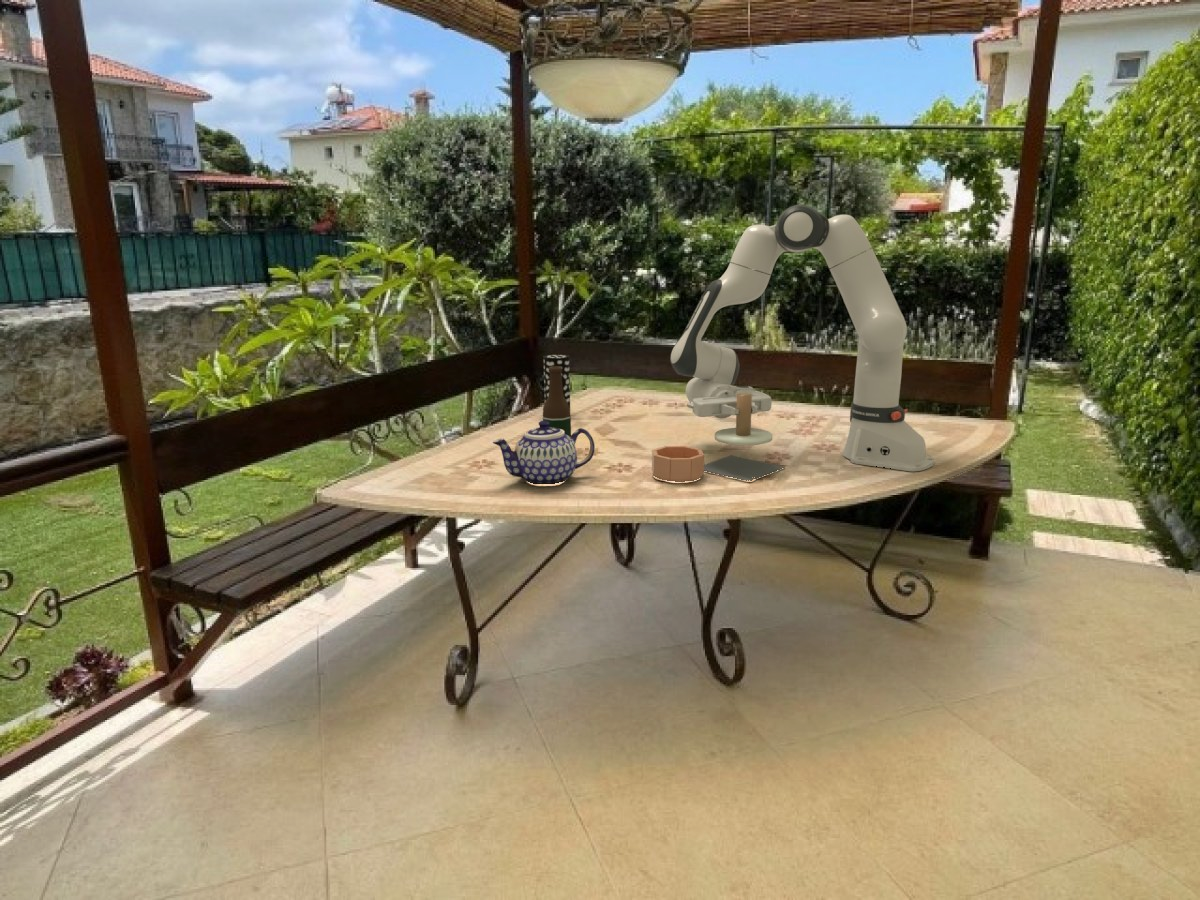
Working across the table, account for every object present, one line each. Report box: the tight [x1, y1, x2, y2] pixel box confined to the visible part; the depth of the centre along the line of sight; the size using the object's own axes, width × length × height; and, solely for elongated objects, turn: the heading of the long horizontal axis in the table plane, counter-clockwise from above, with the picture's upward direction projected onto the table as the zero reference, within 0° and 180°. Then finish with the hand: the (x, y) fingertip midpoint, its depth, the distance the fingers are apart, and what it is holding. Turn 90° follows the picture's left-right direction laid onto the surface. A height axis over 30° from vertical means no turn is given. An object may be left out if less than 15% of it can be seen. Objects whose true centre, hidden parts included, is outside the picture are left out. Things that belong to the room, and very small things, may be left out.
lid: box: [714, 393, 773, 446], centre depth 182 cm, size 14×14×11 cm
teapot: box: [492, 419, 595, 484], centre depth 176 cm, size 25×15×15 cm, turn 109°
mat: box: [704, 455, 786, 481], centre depth 186 cm, size 16×16×1 cm
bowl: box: [651, 445, 705, 482], centre depth 180 cm, size 12×12×6 cm
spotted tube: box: [543, 354, 571, 409], centre depth 242 cm, size 8×8×20 cm
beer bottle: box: [542, 366, 572, 436], centre depth 196 cm, size 8×8×24 cm
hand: (745, 411), depth 181 cm, fingers closed on lid, 4 cm apart
